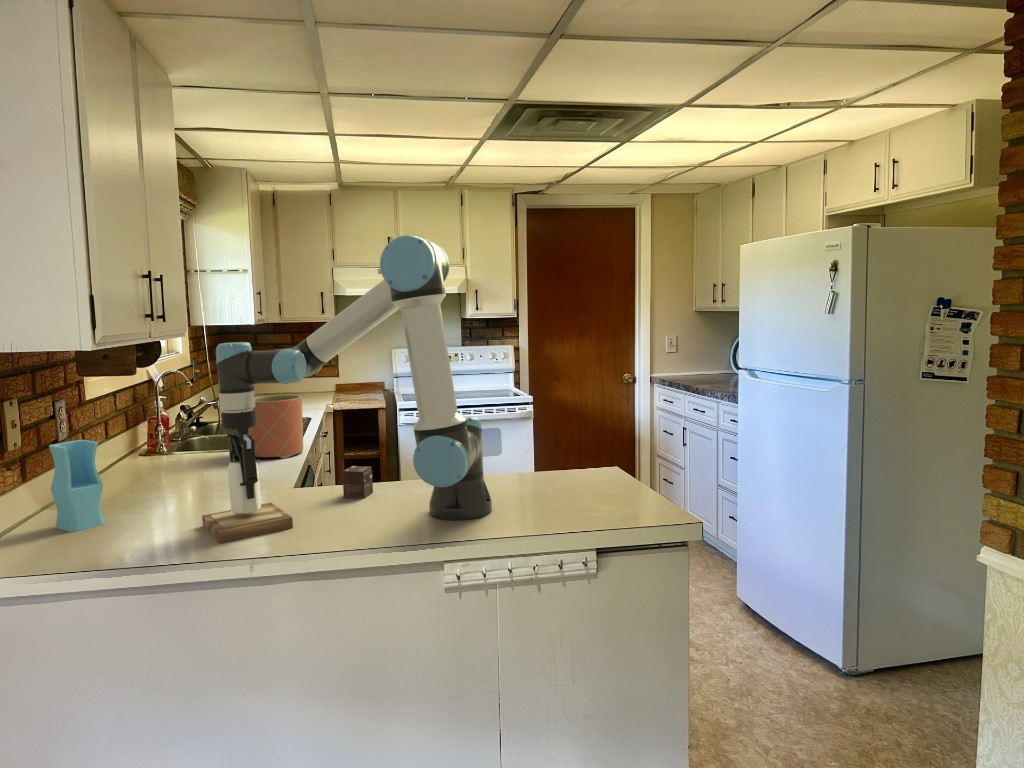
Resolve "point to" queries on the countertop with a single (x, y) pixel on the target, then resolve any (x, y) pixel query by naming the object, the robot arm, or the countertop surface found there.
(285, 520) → the board
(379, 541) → the countertop surface
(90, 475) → the vase
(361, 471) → the box
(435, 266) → the robot arm
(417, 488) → the countertop surface
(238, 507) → the can
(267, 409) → the planter
